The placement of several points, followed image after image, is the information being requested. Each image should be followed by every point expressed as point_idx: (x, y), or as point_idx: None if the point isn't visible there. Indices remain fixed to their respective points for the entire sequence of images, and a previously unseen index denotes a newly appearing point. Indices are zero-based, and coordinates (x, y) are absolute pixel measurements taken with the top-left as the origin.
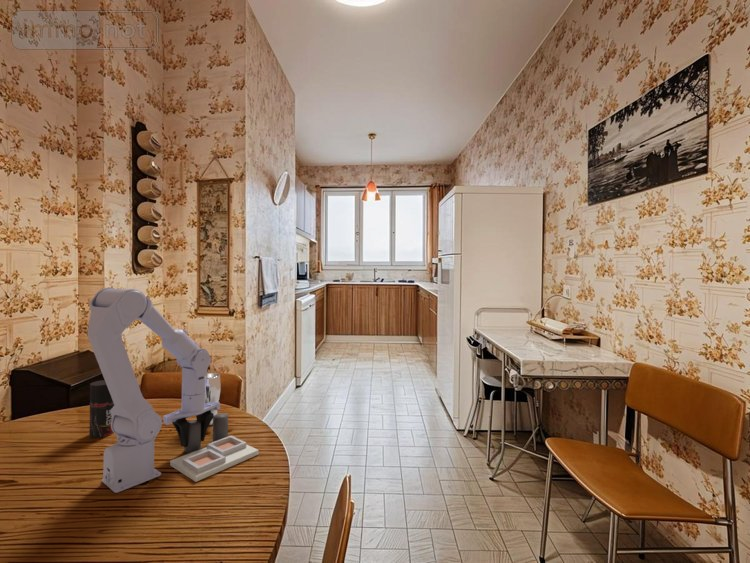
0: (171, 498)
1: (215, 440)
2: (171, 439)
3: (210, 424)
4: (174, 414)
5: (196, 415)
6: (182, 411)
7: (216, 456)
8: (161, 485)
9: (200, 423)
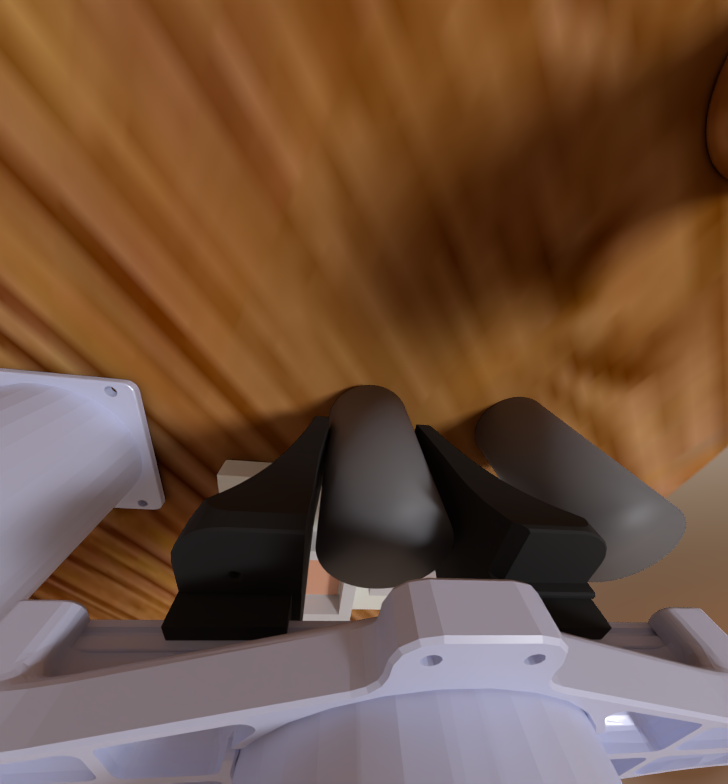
0: (152, 602)
1: (480, 445)
2: (403, 151)
3: (725, 175)
4: (86, 778)
5: (496, 523)
6: (234, 778)
7: (341, 590)
8: (148, 544)
9: (413, 579)
